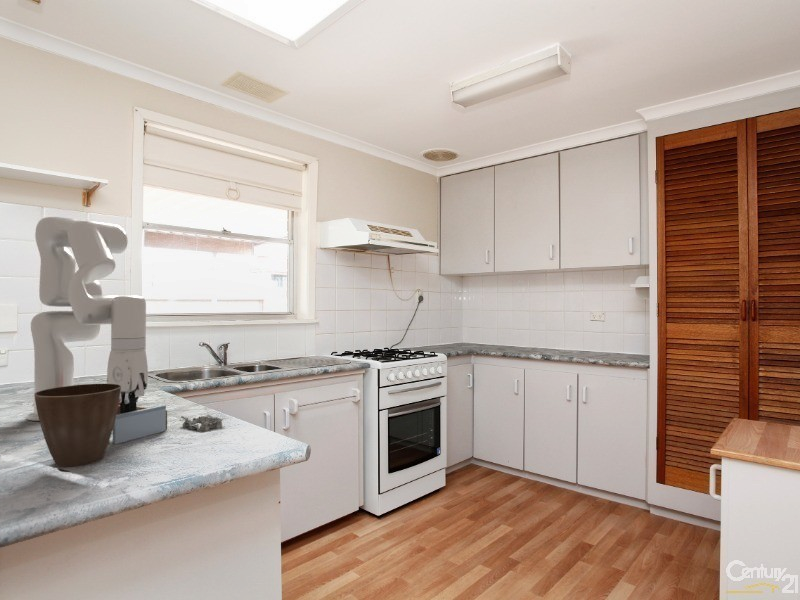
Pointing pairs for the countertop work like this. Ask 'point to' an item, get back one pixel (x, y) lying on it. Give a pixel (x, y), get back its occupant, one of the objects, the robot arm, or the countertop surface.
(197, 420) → the egg carton
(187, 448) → the countertop surface
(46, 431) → the plant pot
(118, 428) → the panel
